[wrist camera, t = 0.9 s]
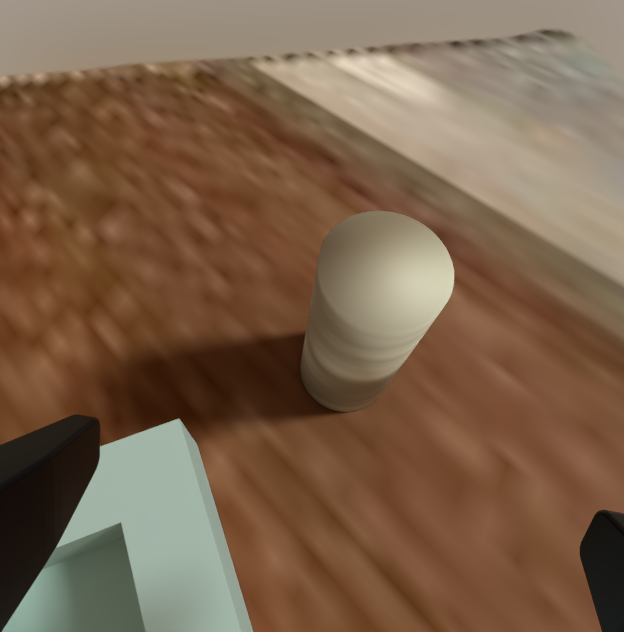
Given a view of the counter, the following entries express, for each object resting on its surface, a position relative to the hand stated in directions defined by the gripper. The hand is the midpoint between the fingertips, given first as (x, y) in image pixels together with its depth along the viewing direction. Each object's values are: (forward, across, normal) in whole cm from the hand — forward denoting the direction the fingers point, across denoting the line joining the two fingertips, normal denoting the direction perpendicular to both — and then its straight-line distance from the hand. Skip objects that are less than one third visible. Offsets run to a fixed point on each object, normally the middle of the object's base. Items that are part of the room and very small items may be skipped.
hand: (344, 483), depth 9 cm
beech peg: (+15, -1, +5) cm, 16 cm away
